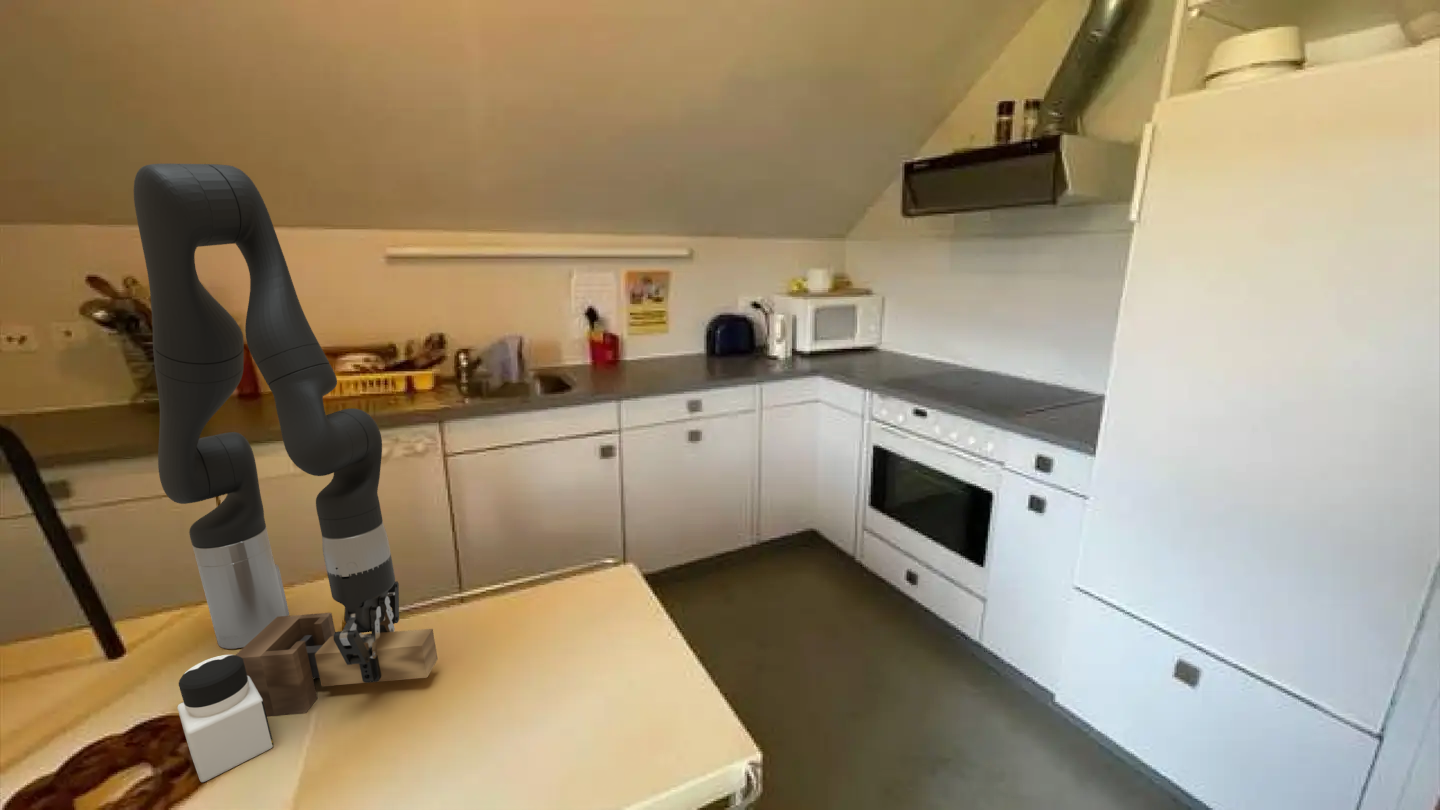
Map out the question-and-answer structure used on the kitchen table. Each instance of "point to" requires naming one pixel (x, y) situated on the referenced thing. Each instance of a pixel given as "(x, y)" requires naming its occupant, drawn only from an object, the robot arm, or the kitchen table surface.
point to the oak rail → (395, 652)
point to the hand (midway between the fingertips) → (380, 669)
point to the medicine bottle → (222, 715)
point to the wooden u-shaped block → (286, 661)
